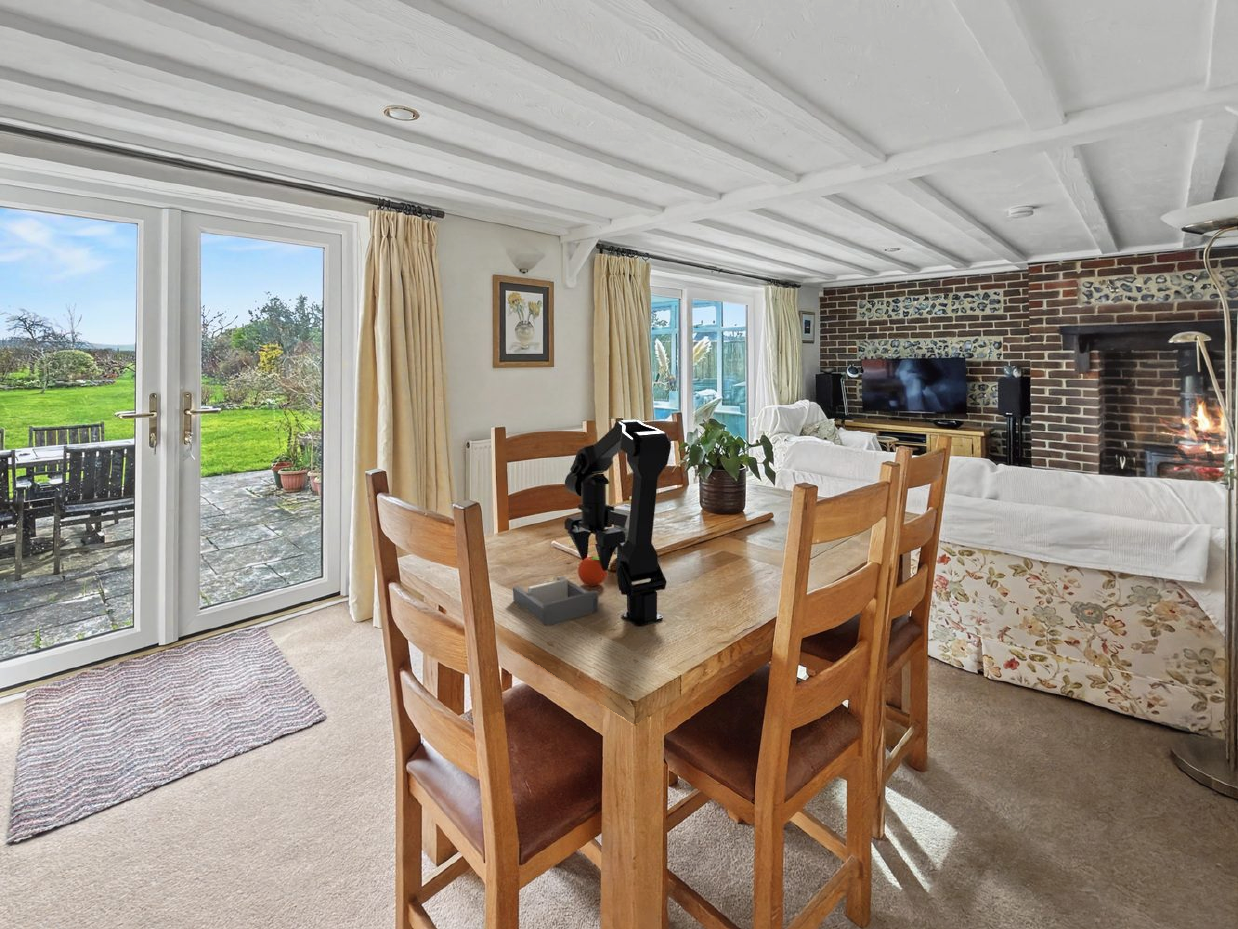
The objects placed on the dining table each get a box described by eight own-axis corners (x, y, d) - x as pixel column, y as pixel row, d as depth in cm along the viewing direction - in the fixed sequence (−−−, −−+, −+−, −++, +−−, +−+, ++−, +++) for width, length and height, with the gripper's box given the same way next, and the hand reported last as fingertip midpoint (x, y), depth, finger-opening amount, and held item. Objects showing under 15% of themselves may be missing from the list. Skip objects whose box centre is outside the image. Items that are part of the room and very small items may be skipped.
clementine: (615, 583, 151) (615, 554, 150) (603, 592, 145) (602, 563, 144) (586, 578, 154) (586, 550, 153) (573, 587, 148) (572, 558, 147)
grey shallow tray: (598, 611, 134) (597, 592, 133) (546, 625, 127) (545, 605, 126) (562, 589, 147) (561, 571, 146) (513, 600, 140) (512, 582, 139)
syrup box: (642, 557, 170) (642, 505, 168) (631, 563, 165) (631, 509, 163) (624, 553, 173) (624, 502, 171) (613, 559, 168) (612, 507, 166)
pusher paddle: (567, 597, 142) (567, 580, 141) (530, 606, 136) (530, 588, 136) (565, 595, 143) (564, 578, 142) (528, 604, 137) (527, 587, 137)
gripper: (645, 503, 143) (645, 569, 146) (601, 490, 158) (602, 549, 161) (604, 510, 137) (604, 578, 139) (562, 495, 152) (564, 557, 155)
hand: (594, 564), depth 149 cm, fingers open, 9 cm apart
